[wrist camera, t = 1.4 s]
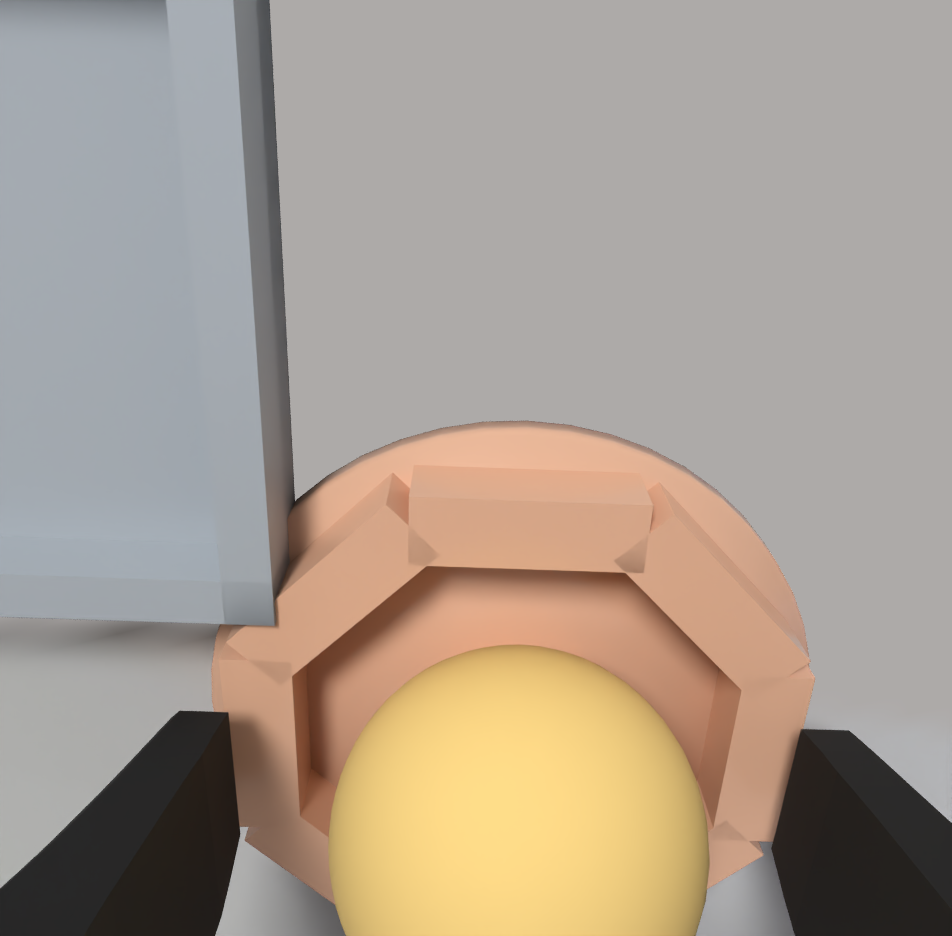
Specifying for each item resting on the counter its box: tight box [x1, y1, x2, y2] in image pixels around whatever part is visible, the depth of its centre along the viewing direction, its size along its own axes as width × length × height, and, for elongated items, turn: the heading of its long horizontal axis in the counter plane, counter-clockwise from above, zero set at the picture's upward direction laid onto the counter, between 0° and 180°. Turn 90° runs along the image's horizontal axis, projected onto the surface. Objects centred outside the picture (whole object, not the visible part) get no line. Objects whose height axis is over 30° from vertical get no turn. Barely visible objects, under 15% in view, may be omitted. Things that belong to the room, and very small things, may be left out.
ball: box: [328, 644, 710, 936], centre depth 10 cm, size 4×4×4 cm
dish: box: [211, 421, 815, 905], centre depth 12 cm, size 8×8×1 cm
